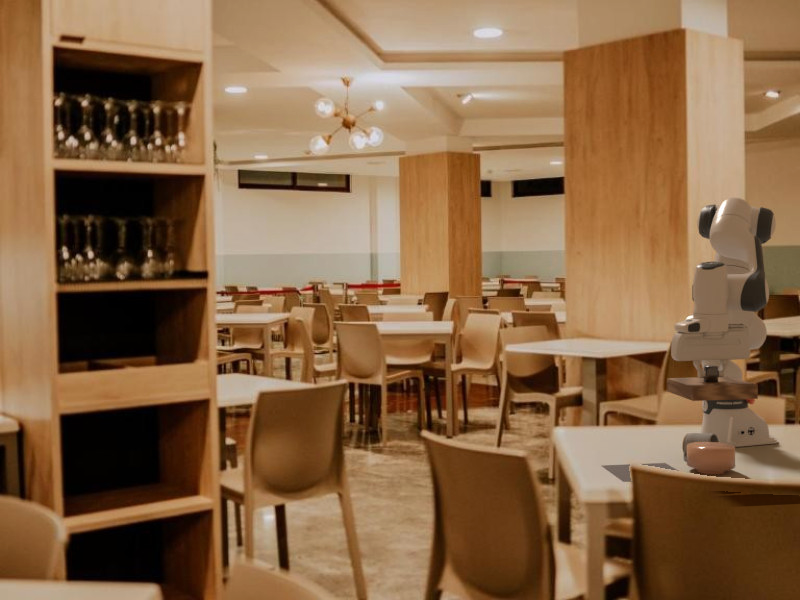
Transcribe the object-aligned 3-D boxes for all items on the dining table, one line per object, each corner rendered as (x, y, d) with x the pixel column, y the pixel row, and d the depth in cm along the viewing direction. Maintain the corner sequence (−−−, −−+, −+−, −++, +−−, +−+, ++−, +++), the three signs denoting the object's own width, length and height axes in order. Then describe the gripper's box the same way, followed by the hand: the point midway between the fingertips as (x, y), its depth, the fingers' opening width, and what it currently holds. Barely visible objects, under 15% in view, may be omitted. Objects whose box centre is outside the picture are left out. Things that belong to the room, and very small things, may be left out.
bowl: (722, 466, 249) (722, 441, 249) (743, 477, 238) (743, 450, 237) (679, 468, 248) (679, 442, 248) (698, 479, 236) (698, 452, 236)
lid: (727, 389, 251) (727, 361, 251) (757, 398, 234) (757, 369, 234) (666, 391, 249) (666, 363, 249) (692, 400, 233) (692, 371, 232)
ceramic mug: (691, 455, 264) (691, 428, 264) (719, 458, 259) (719, 431, 258) (676, 462, 256) (675, 435, 255) (705, 466, 251) (705, 438, 250)
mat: (665, 464, 253) (665, 462, 253) (692, 480, 235) (692, 478, 235) (601, 467, 251) (600, 465, 251) (623, 483, 233) (623, 481, 233)
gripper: (743, 322, 245) (743, 374, 246) (668, 324, 243) (668, 376, 244) (754, 324, 239) (754, 377, 240) (678, 326, 237) (678, 380, 238)
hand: (710, 377), depth 242 cm, fingers closed on lid, 4 cm apart
